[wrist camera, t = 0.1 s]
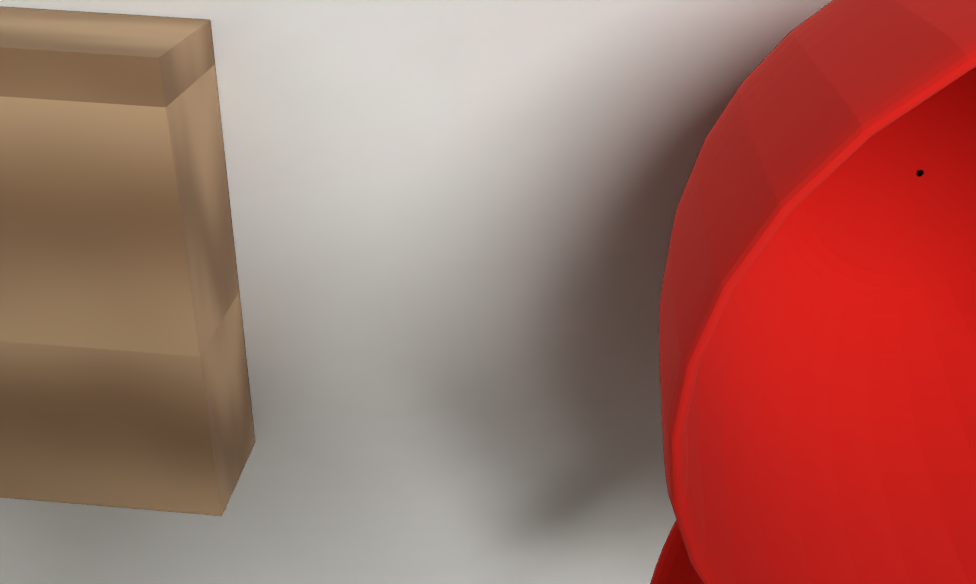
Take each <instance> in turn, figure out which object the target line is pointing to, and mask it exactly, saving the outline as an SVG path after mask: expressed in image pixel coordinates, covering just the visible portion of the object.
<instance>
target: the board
mask: <svg viewBox="0 0 976 584" xmlns="http://www.w3.org/2000/svg"><path fill="white" fill-rule="evenodd" d="M254 443H255V435H254V426H253V416H252V407H251V397H250V388H249V379H248V369H247V360H246V351H245V341H244V332H243V322H242V313H241V304H240V294H239V285H238V275H237V266H236V257H235V247H234V238H233V229H232V219H231V210H230V200H229V191H228V182H227V172H226V163H225V153H224V144H223V135H222V125H221V116H220V107H219V97H218V88H217V78H216V69H215V60H214V50H213V41H212V32H211V22H210V20H205V19H190V18H174V17H158V16H142V15H126V14H110V13H95V12H79V11H63V10H47V9H31V8H15V7H0V497H2V498H14V499H26V500H38V501H50V502H62V503H74V504H86V505H97V506H109V507H121V508H133V509H145V510H157V511H169V512H181V513H193V514H205V515H216V516H222V515H223V512H224V510H225V508H226V506H227V503H228V501H229V499H230V497H231V495H232V492H233V490H234V488H235V486H236V483H237V481H238V479H239V477H240V475H241V472H242V470H243V468H244V466H245V463H246V461H247V459H248V457H249V455H250V452H251V450H252V448H253V446H254Z"/></svg>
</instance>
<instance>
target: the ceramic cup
mask: <svg viewBox="0 0 976 584" xmlns="http://www.w3.org/2000/svg"><path fill="white" fill-rule="evenodd" d="M659 361H660V384H661V407H662V430H663V448H664V462H665V472H666V482H667V488H668V493H669V498H670V501H671V504H672V507H673V510H674V513H675V516H676V519H677V520H676V522H675V523H674V525H673V527H672V529H671V531H670V533H669V536H668V538H667V540H666V542H665V544H664V547H663V549H662V552H661V554H660V557H659V559H658V562H657V565H656V567H655V571H654V574H653V577H652V580H651V583H650V584H976V0H833V1H831V2H830V3H829V4H827V5H826V6H825V7H823V8H822V9H821V10H819V11H818V12H816V13H815V14H814V15H812V16H811V17H810V18H808V19H807V20H806V21H804V22H803V23H802V24H800V25H799V26H798V27H796V28H795V29H794V30H792V31H791V32H790V33H789V34H788V35H787V36H786V37H785V38H784V39H783V40H782V41H781V42H780V43H779V44H778V45H777V46H776V48H775V49H774V50H773V51H772V52H771V53H770V54H769V55H768V56H767V57H766V58H765V59H764V60H763V61H762V62H761V63H760V64H759V65H758V66H757V67H756V68H755V69H754V71H753V72H752V73H751V74H750V75H749V76H748V77H747V78H746V79H745V80H744V81H743V82H742V83H741V85H740V86H739V88H738V89H737V91H736V92H735V94H734V96H733V97H732V99H731V100H730V102H729V103H728V105H727V106H726V108H725V109H724V111H723V112H722V114H721V115H720V117H719V118H718V120H717V121H716V123H715V125H714V126H713V128H712V129H711V131H710V132H709V134H708V135H707V137H706V139H705V141H704V143H703V145H702V147H701V150H700V152H699V155H698V157H697V160H696V162H695V164H694V167H693V169H692V172H691V174H690V177H689V179H688V182H687V184H686V186H685V189H684V191H683V194H682V196H681V199H680V201H679V204H678V207H677V210H676V214H675V218H674V223H673V228H672V234H671V239H670V244H669V250H668V255H667V260H666V266H665V271H664V276H663V283H662V289H661V297H660V310H659Z"/></svg>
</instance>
